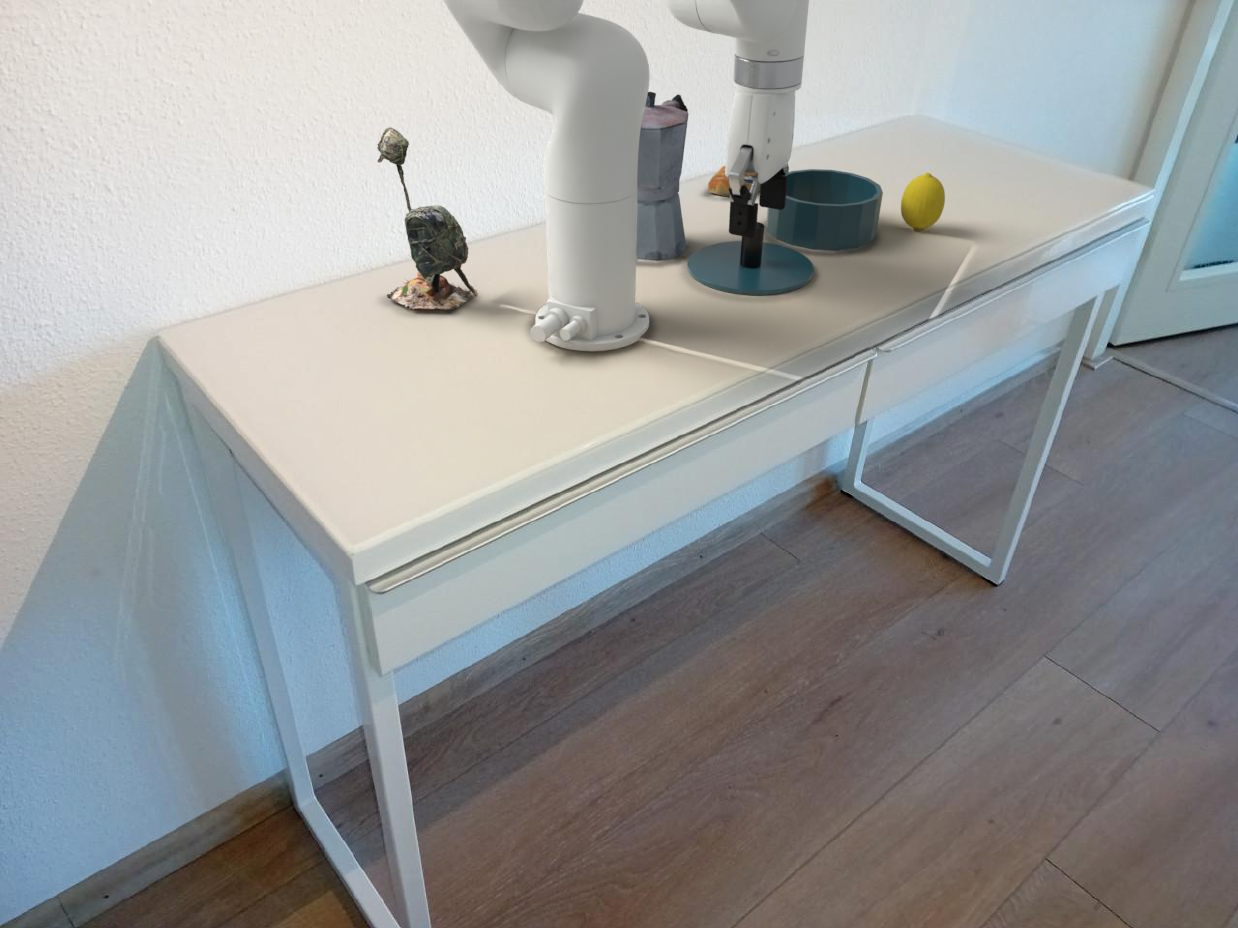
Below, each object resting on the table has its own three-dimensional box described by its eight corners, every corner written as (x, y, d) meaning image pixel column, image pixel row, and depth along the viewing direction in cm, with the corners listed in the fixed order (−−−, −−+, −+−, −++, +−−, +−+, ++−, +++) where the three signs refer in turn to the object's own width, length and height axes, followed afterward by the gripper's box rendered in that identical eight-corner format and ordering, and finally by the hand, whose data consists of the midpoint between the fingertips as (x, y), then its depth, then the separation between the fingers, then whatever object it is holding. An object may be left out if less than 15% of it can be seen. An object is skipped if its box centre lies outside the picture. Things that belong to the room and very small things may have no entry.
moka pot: (590, 263, 123) (588, 99, 112) (644, 224, 134) (648, 71, 123) (658, 278, 119) (663, 110, 108) (708, 236, 131) (718, 80, 119)
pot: (856, 262, 124) (864, 213, 120) (750, 241, 129) (754, 194, 126) (886, 225, 134) (894, 179, 131) (787, 208, 140) (792, 163, 136)
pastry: (733, 203, 141) (734, 177, 139) (695, 193, 145) (696, 168, 143) (769, 187, 147) (771, 162, 145) (732, 178, 151) (734, 153, 149)
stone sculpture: (441, 328, 108) (421, 146, 97) (378, 299, 114) (352, 124, 103) (495, 305, 113) (483, 129, 102) (432, 278, 119) (414, 109, 108)
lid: (787, 310, 112) (793, 259, 109) (666, 283, 118) (668, 234, 115) (828, 263, 124) (835, 216, 120) (716, 241, 129) (719, 195, 126)
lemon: (935, 225, 135) (946, 167, 130) (941, 240, 130) (953, 180, 126) (894, 223, 135) (903, 165, 131) (899, 238, 131) (909, 179, 126)
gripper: (763, 51, 115) (754, 193, 125) (705, 87, 103) (699, 241, 113) (825, 58, 112) (810, 202, 122) (772, 95, 100) (760, 252, 110)
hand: (757, 221), depth 117 cm, fingers open, 9 cm apart
